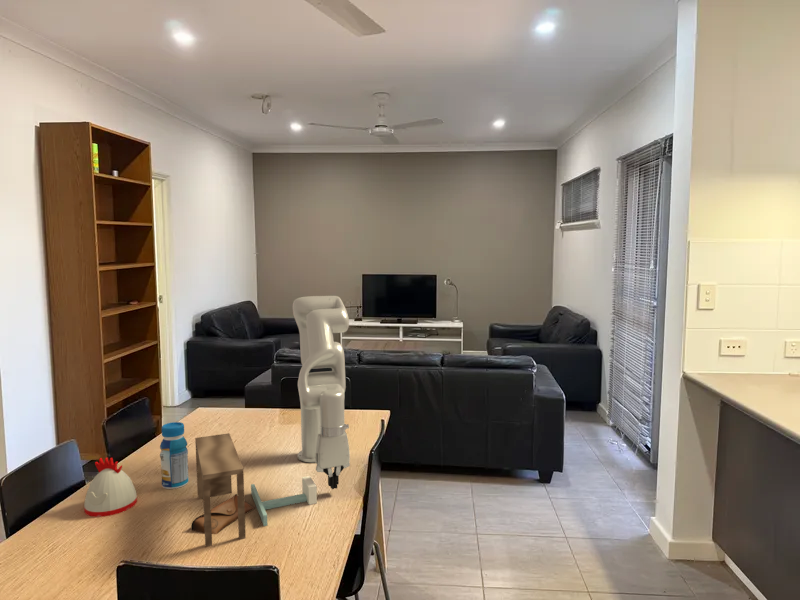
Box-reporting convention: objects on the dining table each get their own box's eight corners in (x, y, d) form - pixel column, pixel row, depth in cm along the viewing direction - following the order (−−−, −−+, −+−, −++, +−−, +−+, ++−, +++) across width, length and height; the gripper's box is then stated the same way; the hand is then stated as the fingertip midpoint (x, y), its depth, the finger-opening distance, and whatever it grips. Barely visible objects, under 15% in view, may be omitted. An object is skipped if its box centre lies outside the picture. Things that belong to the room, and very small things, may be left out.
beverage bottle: (184, 489, 170) (181, 428, 169) (157, 490, 170) (154, 429, 168) (192, 478, 179) (190, 420, 177) (166, 479, 178) (164, 421, 176)
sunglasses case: (215, 536, 142) (204, 513, 142) (198, 545, 144) (187, 522, 145) (258, 507, 158) (248, 486, 159) (242, 515, 161) (232, 494, 162)
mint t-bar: (304, 483, 174) (304, 467, 173) (323, 513, 154) (323, 495, 153) (251, 493, 167) (250, 477, 166) (263, 526, 147) (263, 507, 146)
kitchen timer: (105, 494, 167) (102, 448, 166) (146, 496, 166) (144, 450, 164) (73, 516, 153) (70, 466, 152) (118, 518, 152) (115, 468, 151)
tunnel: (231, 492, 168) (229, 433, 167) (245, 538, 141) (243, 468, 139) (197, 498, 164) (195, 437, 162) (205, 547, 137) (202, 475, 135)
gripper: (351, 423, 171) (352, 478, 173) (305, 429, 165) (306, 486, 166) (359, 430, 164) (360, 487, 166) (312, 437, 158) (313, 496, 160)
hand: (333, 487), depth 166 cm, fingers closed
